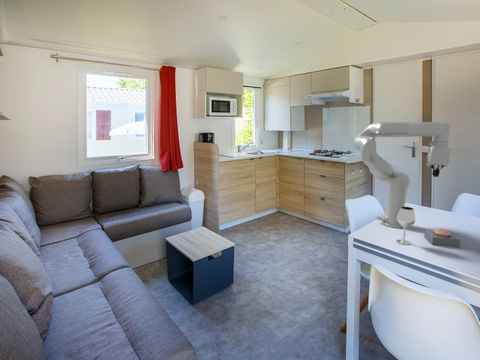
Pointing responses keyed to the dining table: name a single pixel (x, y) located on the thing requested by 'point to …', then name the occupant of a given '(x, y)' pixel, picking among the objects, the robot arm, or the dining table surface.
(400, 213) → the wineglass
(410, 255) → the dining table surface
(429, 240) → the button box
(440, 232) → the button
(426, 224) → the dining table surface
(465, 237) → the dining table surface
